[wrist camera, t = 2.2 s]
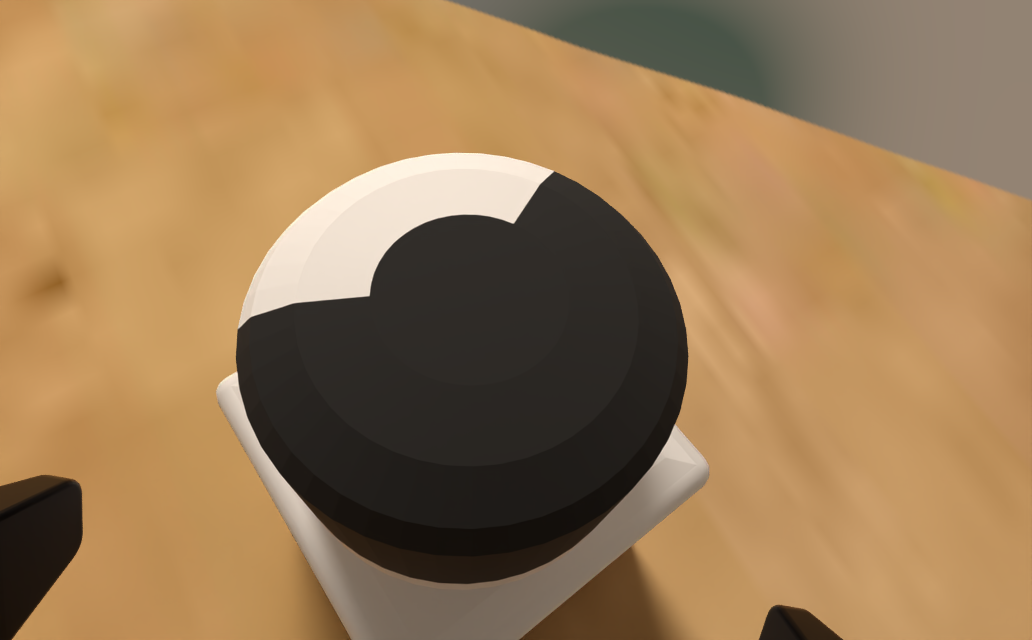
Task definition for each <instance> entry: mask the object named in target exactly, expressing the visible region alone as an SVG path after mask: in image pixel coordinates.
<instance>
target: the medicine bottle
mask: <svg viewBox="0 0 1032 640" xmlns="http://www.w3.org/2000/svg"><path fill="white" fill-rule="evenodd" d="M236 364H237V372H235V373H234V374H232V375H230V376H228V377H226V378H225V379H224V380H223V381H222V382H221V383H219V386H218V388H217V391H216V393H217V399H218V404H219V406H220V408H221V409H222V411H223V413H224V415H225V416H226V418H227V420H228V422H229V424H230V425H231V427H232V429H233V431H234V432H235V434H236V436H237V438H238V440H239V441H240V443H241V445H242V447H243V448H244V450H245V452H246V454H247V455H248V457H249V459H250V461H251V463H252V464H253V466H254V468H255V470H256V471H257V473H258V475H259V477H260V479H261V480H262V482H263V484H264V486H265V487H266V489H267V491H268V493H269V494H270V496H271V498H272V500H273V502H274V503H275V505H276V507H277V509H278V510H279V512H280V514H281V516H282V517H283V519H284V521H285V523H286V525H287V526H288V528H289V530H290V532H291V533H292V535H293V537H294V539H295V541H296V542H297V544H298V546H299V548H300V549H301V551H302V553H303V555H304V556H305V558H306V560H307V562H308V564H309V565H310V567H311V569H312V571H313V572H314V574H315V576H316V578H317V579H318V581H319V583H320V585H321V587H322V588H323V590H324V592H325V594H326V595H327V597H328V599H329V601H330V603H331V604H332V606H333V608H334V610H335V611H336V613H337V615H338V617H339V618H340V620H341V622H342V624H343V626H344V627H345V629H346V631H347V633H348V634H349V636H350V638H351V640H519V639H520V638H522V637H523V636H524V635H525V634H526V633H528V632H529V631H530V630H531V629H532V628H534V627H535V626H536V625H537V624H538V623H540V622H541V621H542V620H543V619H544V618H546V617H547V616H548V615H549V614H550V613H552V612H553V611H554V610H555V609H556V608H558V607H559V606H560V605H561V604H562V603H564V602H565V601H566V600H567V599H568V598H570V597H571V596H572V595H573V594H574V593H576V592H577V591H578V590H579V589H580V588H582V587H583V586H584V585H585V584H587V583H588V582H589V581H590V580H591V579H593V578H594V577H595V576H596V575H597V574H599V573H600V572H601V571H602V570H603V569H605V568H606V567H607V566H608V565H609V564H611V563H612V562H613V561H614V560H615V559H617V558H618V557H619V556H620V555H621V554H623V553H624V552H625V551H626V550H627V549H629V548H630V547H631V546H632V545H633V544H635V543H636V542H637V541H638V540H639V539H641V538H642V537H643V536H644V535H645V534H647V533H648V532H649V531H650V530H651V529H653V528H654V527H655V526H656V525H657V524H659V523H660V522H661V521H662V520H663V519H665V518H666V517H667V516H668V515H669V514H671V513H672V512H673V511H674V510H675V509H677V508H678V507H679V506H680V505H681V504H683V503H684V502H685V501H686V500H687V499H689V498H690V497H691V496H692V495H693V494H695V493H696V492H697V491H698V490H699V489H701V488H702V487H703V486H704V485H705V483H706V481H707V480H708V478H709V465H708V463H707V461H706V460H705V458H704V457H703V456H702V455H701V453H700V452H699V451H698V450H697V449H696V448H695V447H694V445H693V444H692V443H691V442H690V441H689V440H688V439H687V437H686V436H685V435H684V434H683V433H682V432H681V430H680V429H679V428H678V427H677V426H676V425H675V423H676V420H677V418H678V415H679V413H680V409H681V405H682V401H683V396H684V392H685V388H686V382H687V368H688V346H687V334H686V327H685V323H684V318H683V314H682V310H681V306H680V302H679V300H678V297H677V295H676V292H675V290H674V287H673V285H672V282H671V279H670V278H669V276H668V274H667V272H666V270H665V269H664V267H663V265H662V263H661V262H660V260H659V258H658V256H657V255H656V254H655V252H654V251H653V250H652V248H651V247H650V246H649V244H648V243H647V242H646V240H645V239H644V238H643V236H642V235H641V234H640V233H639V232H638V231H637V230H636V229H635V228H634V227H633V226H632V225H631V224H630V223H629V222H628V221H627V220H626V219H625V218H624V217H623V216H622V215H621V214H620V213H619V212H618V211H616V210H615V209H614V208H613V207H612V206H610V205H609V204H608V203H607V202H605V201H604V200H603V199H602V198H600V197H599V196H598V195H596V194H595V193H593V192H592V191H590V190H588V189H587V188H585V187H584V186H582V185H580V184H579V183H577V182H575V181H573V180H571V179H569V178H567V177H565V176H563V175H561V174H559V173H557V172H555V171H552V170H549V169H546V168H544V167H541V166H538V165H535V164H532V163H529V162H525V161H521V160H517V159H513V158H508V157H503V156H495V155H488V154H479V153H447V154H434V155H426V156H421V157H415V158H410V159H405V160H401V161H398V162H395V163H391V164H388V165H385V166H381V167H379V168H376V169H374V170H371V171H369V172H367V173H364V174H362V175H360V176H357V177H355V178H354V179H352V180H350V181H348V182H347V183H345V184H343V185H341V186H340V187H338V188H336V189H334V190H333V191H331V192H330V193H328V194H327V195H325V196H324V197H323V198H321V199H320V200H319V201H317V202H316V203H315V204H313V205H312V206H311V207H309V208H308V209H307V210H305V211H304V212H303V213H302V214H301V215H300V216H299V217H298V218H297V219H296V220H295V221H294V222H293V223H292V224H291V225H290V226H289V227H288V228H287V229H286V230H285V231H284V232H283V233H282V235H281V236H280V237H279V238H278V240H277V241H276V242H275V244H274V245H273V246H272V247H271V249H270V250H269V251H268V253H267V255H266V256H265V258H264V260H263V261H262V263H261V265H260V267H259V268H258V270H257V272H256V273H255V275H254V278H253V280H252V283H251V285H250V288H249V290H248V293H247V295H246V298H245V300H244V304H243V308H242V313H241V317H240V321H239V326H238V333H237V349H236Z"/></svg>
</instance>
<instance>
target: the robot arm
mask: <svg viewBox="0 0 1032 640" xmlns="http://www.w3.org/2000/svg"><path fill="white" fill-rule="evenodd" d="M82 535H83V521H82V489H81V486H80V484H79V483H78V482H77V481H75V480H73V479H69V478H63V477H57V476H52V475H40V476H36V477H33V478H29V479H25V480H22V481H18V482H14V483H10V484H7V485H3V486H0V640H12V639H13V637H14V636H15V635H16V633H17V632H18V631H19V629H20V628H21V627H22V625H23V624H24V623H25V621H26V620H27V619H28V617H29V616H30V615H31V613H32V612H33V611H34V609H35V608H36V607H37V605H38V604H39V603H40V601H41V600H42V599H43V597H44V596H45V595H46V594H47V592H48V591H49V590H50V588H51V587H52V586H53V584H54V583H55V582H56V580H57V579H58V578H59V576H60V575H61V574H62V572H63V571H64V570H65V568H66V567H67V566H68V564H69V563H70V562H71V560H72V559H73V558H74V556H75V555H76V553H77V551H78V549H79V547H80V544H81V541H82ZM759 640H843V639H842V638H840V637H839V636H838V635H837V634H836V633H834V632H833V631H832V630H831V629H829V628H828V627H827V626H826V625H825V624H823V623H822V622H821V621H820V620H818V619H817V618H816V617H815V616H814V615H812V614H811V613H810V612H808V611H807V610H804V609H801V608H795V607H789V606H783V605H775V606H773V607H772V608H771V609H770V610H769V612H768V615H767V617H766V620H765V623H764V626H763V629H762V632H761V635H760V638H759Z"/></svg>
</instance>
